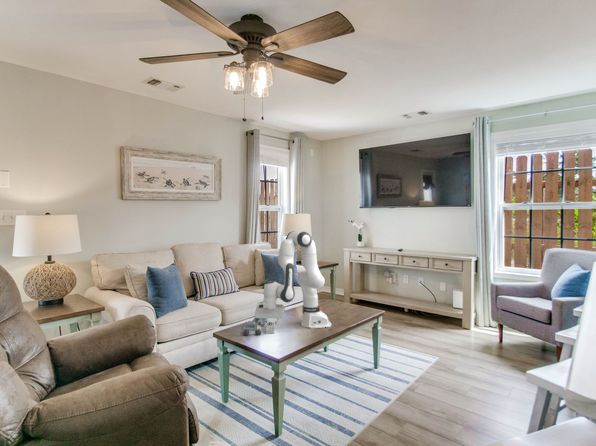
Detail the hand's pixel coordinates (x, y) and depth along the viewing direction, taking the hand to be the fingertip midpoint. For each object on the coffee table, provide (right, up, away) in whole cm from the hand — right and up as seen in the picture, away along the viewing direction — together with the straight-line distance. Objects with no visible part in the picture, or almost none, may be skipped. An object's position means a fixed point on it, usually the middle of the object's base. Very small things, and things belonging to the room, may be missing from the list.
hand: (269, 324), depth 230 cm
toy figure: (-6, -6, +16) cm, 18 cm away
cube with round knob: (+1, -6, +1) cm, 6 cm away
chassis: (-11, -6, 0) cm, 13 cm away
